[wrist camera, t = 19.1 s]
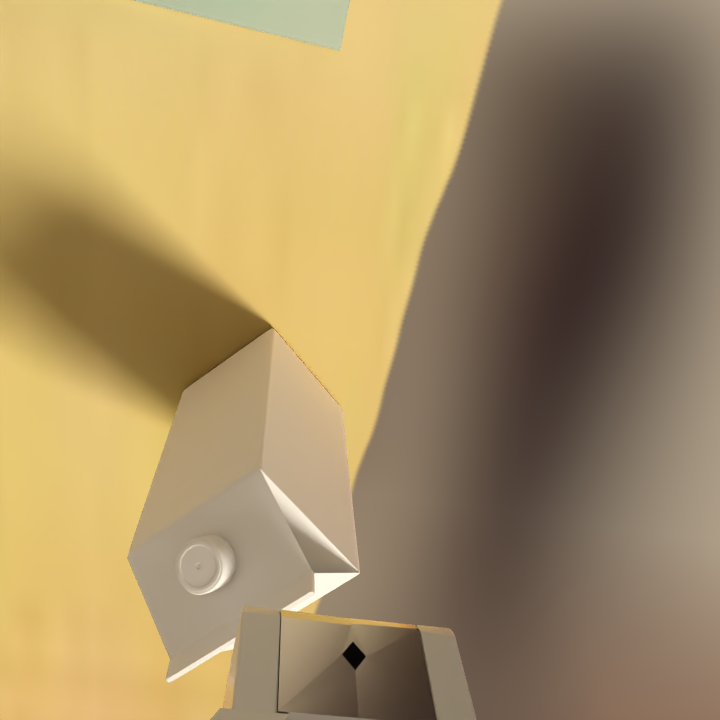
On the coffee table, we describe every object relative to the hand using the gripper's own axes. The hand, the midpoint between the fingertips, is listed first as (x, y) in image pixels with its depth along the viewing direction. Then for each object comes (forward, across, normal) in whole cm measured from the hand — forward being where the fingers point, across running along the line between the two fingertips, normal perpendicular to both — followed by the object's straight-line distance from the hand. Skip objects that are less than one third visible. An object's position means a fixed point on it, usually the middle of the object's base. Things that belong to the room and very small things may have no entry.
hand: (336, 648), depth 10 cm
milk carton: (+31, 0, +13) cm, 34 cm away
